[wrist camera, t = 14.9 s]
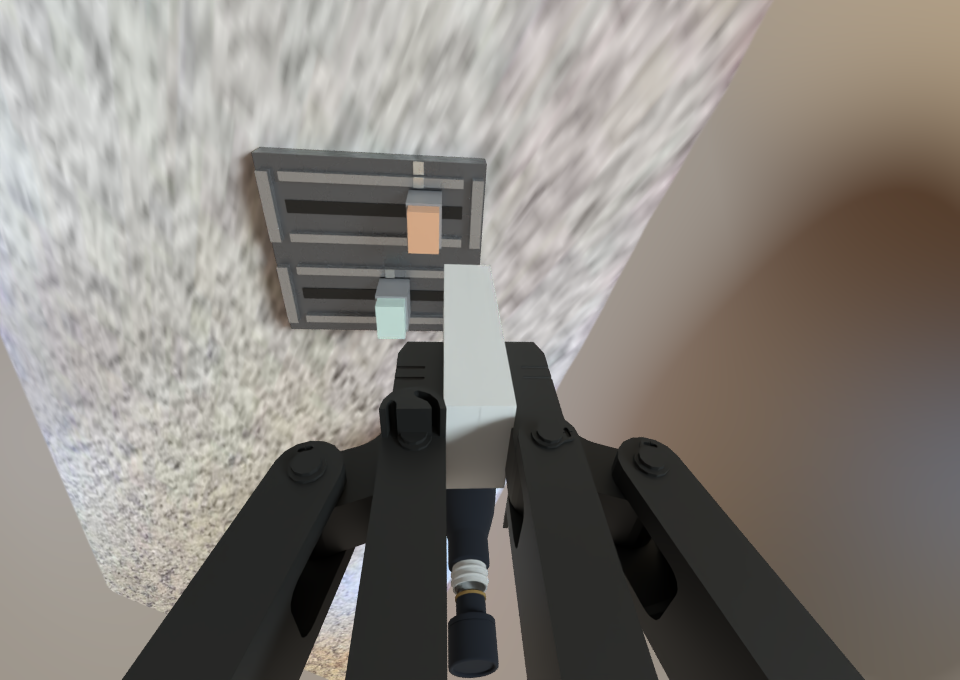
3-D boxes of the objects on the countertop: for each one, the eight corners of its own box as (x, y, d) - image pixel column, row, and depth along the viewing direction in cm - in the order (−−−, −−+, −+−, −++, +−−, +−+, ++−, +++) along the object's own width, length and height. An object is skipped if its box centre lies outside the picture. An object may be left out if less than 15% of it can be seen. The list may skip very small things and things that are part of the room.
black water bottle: (452, 421, 60) (457, 690, 35) (428, 391, 56) (415, 667, 32) (493, 403, 58) (528, 671, 34) (471, 372, 55) (492, 645, 31)
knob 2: (408, 189, 39) (404, 209, 35) (442, 191, 39) (441, 210, 35) (410, 232, 41) (406, 255, 37) (441, 233, 42) (441, 256, 37)
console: (259, 147, 38) (247, 154, 36) (484, 158, 40) (487, 166, 38) (296, 318, 49) (289, 332, 46) (474, 321, 50) (475, 335, 48)
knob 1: (379, 278, 44) (372, 304, 40) (409, 279, 44) (405, 305, 40) (382, 311, 46) (376, 340, 42) (410, 312, 47) (407, 340, 42)
